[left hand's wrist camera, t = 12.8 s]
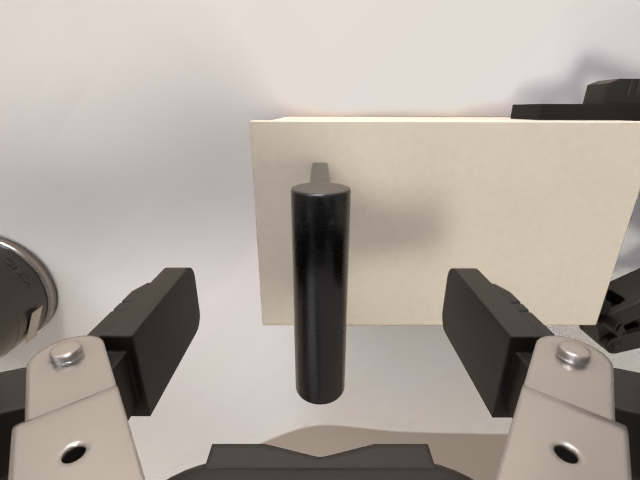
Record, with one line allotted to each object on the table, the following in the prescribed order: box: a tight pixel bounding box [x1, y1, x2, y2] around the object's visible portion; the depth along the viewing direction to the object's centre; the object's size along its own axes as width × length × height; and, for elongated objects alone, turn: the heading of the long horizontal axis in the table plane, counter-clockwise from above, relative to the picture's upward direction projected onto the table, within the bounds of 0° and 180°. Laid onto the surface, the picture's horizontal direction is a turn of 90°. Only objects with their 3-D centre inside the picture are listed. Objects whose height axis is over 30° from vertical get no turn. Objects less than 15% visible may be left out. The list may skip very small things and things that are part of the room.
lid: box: [250, 120, 640, 404], centre depth 14 cm, size 18×10×8 cm, turn 90°
